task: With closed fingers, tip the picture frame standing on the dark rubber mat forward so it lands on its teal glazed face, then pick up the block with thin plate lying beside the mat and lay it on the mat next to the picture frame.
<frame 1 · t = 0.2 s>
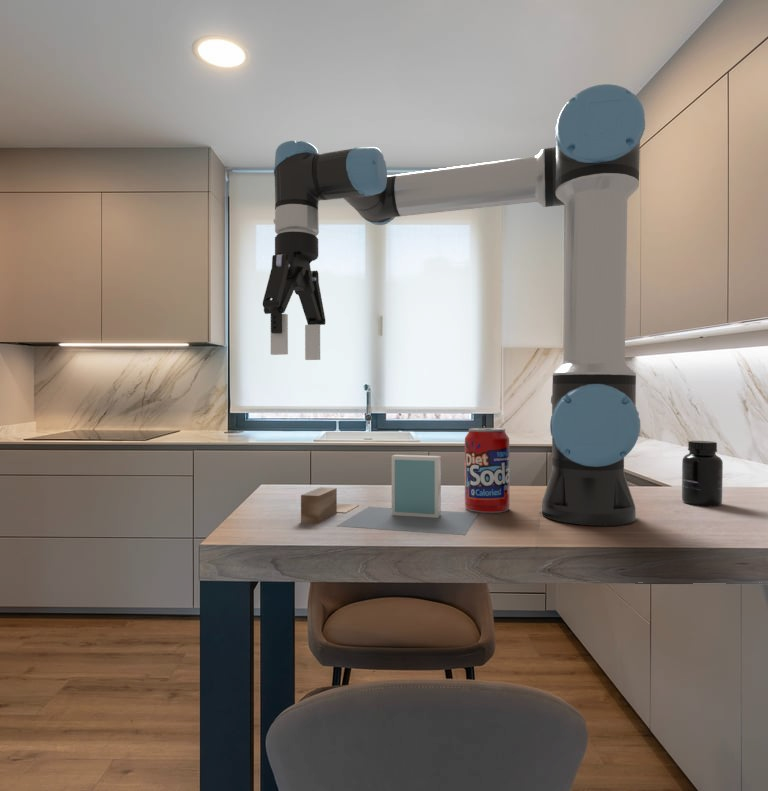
hand: (297, 357, 98), 28 cm above the breakfast bar, tool pointing down, fingers open, 13 cm apart
supplement bottle: (702, 504, 109), on the breakfast bar
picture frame: (416, 514, 95), point 1 cm above the breakfast bar, touching mat
mat: (411, 522, 92), on the breakfast bar
soda can: (487, 513, 100), on the breakfast bar
block with thin plate: (324, 519, 95), on the breakfast bar
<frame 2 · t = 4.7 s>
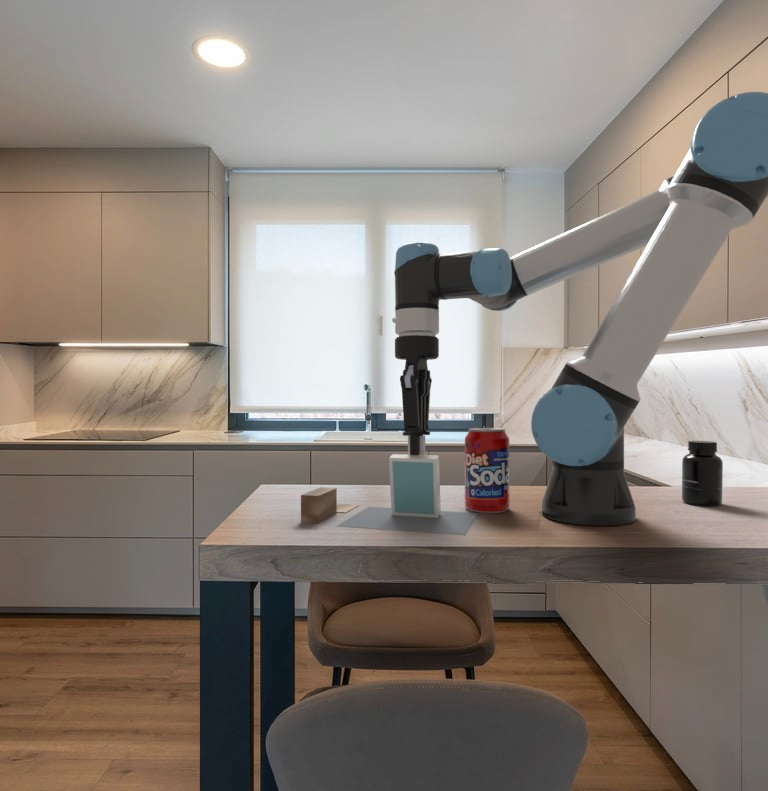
hand: (416, 473, 96), 8 cm above the breakfast bar, tool pointing down, fingers closed
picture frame: (416, 513, 95), point 1 cm above the breakfast bar, tilted 9°, touching gripper, mat
everything else where it was.
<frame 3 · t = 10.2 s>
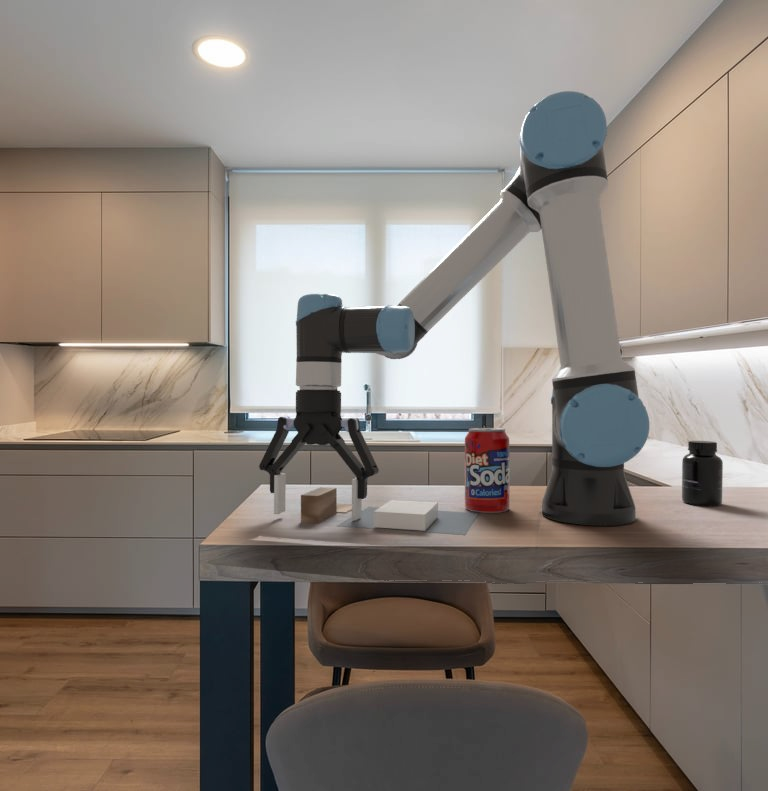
hand: (317, 516, 94), 1 cm above the breakfast bar, tool pointing down, fingers open, 13 cm apart
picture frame: (414, 508, 94), point 2 cm above the breakfast bar, tilted 90°, touching mat
everything else where it was.
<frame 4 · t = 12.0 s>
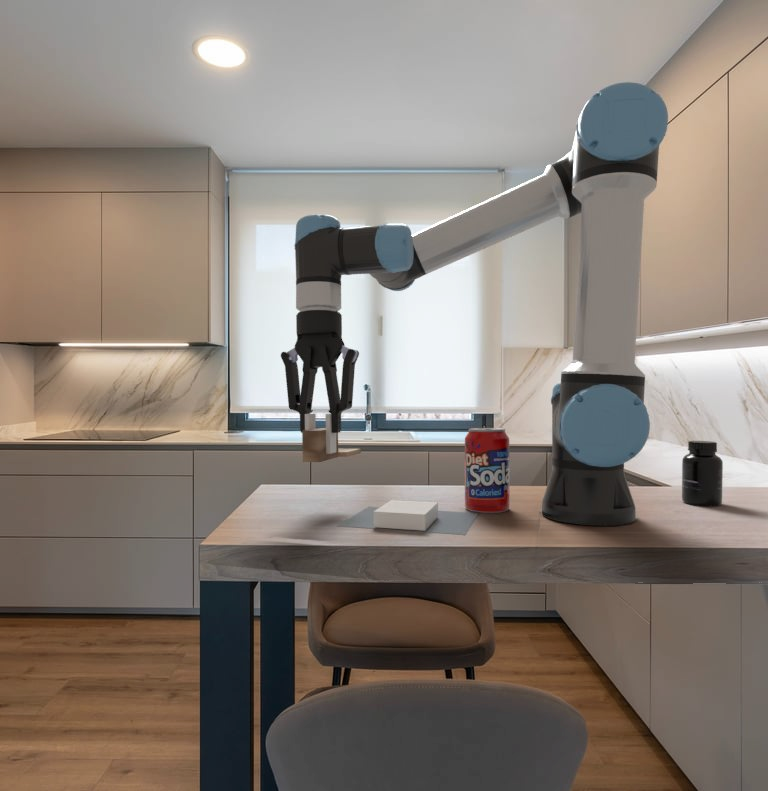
hand: (320, 452, 93), 11 cm above the breakfast bar, tool pointing down, fingers closed on block with thin plate, 3 cm apart
block with thin plate: (325, 458, 95), point 10 cm above the breakfast bar, touching gripper
everything else where it was.
when the fingers open (1 cm above the breakfast bar, at t = 14.7 s): block with thin plate stays where it is, resting on mat.
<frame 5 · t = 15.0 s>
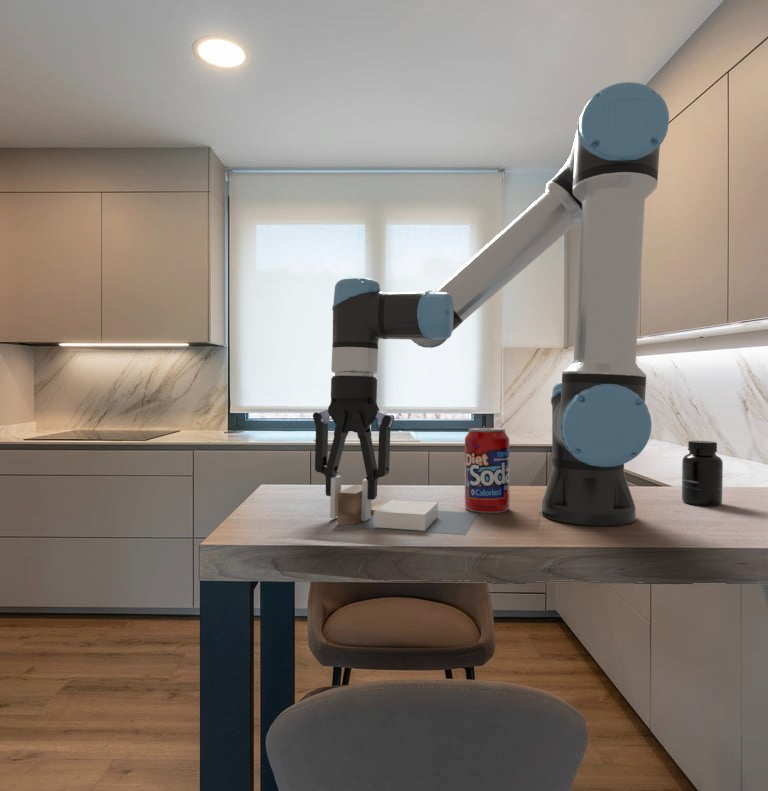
hand: (350, 517, 92), 1 cm above the breakfast bar, tool pointing down, fingers open, 5 cm apart
block with thin plate: (359, 517, 94), point 1 cm above the breakfast bar, touching gripper, mat
everything else where it was.
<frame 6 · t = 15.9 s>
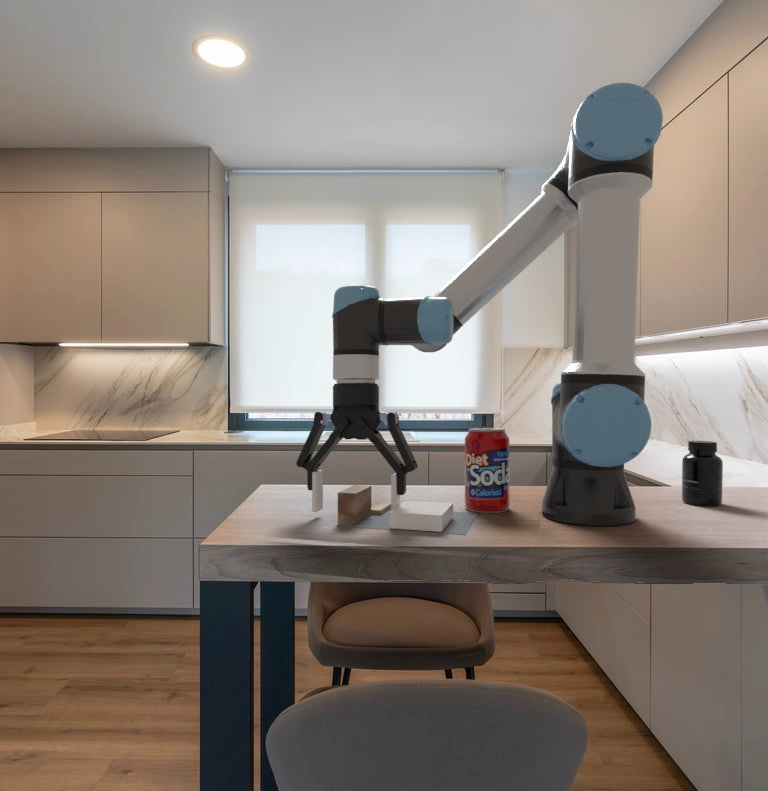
hand: (355, 512, 92), 2 cm above the breakfast bar, tool pointing down, fingers open, 13 cm apart
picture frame: (429, 509, 93), point 2 cm above the breakfast bar, tilted 90°, touching gripper, mat
block with thin plate: (359, 517, 94), point 1 cm above the breakfast bar, touching mat
everything else where it was.
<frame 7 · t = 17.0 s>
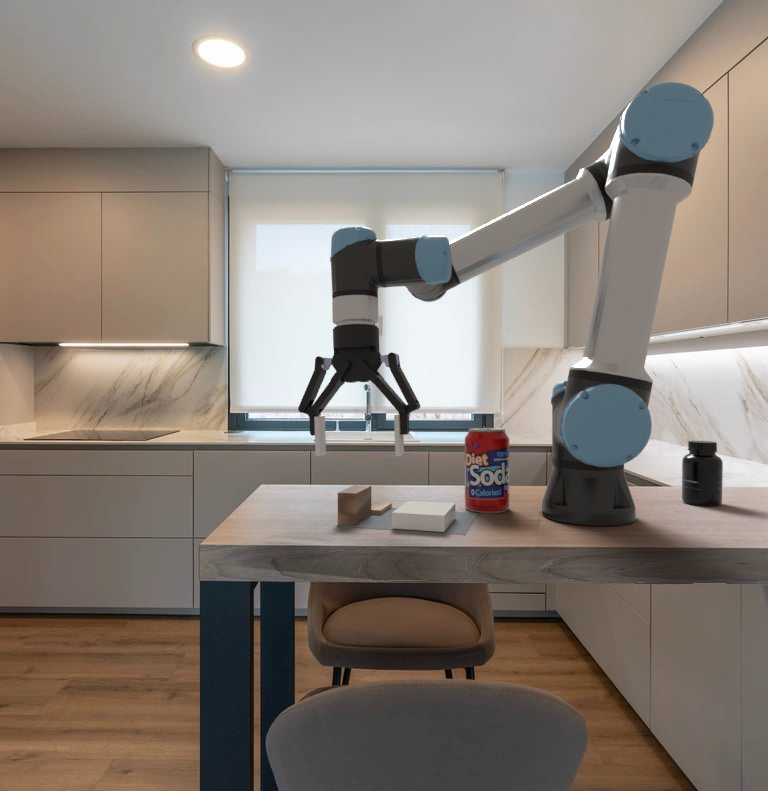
hand: (359, 455, 92), 11 cm above the breakfast bar, tool pointing down, fingers open, 13 cm apart
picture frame: (431, 509, 93), point 2 cm above the breakfast bar, tilted 90°, touching mat
everything else where it was.
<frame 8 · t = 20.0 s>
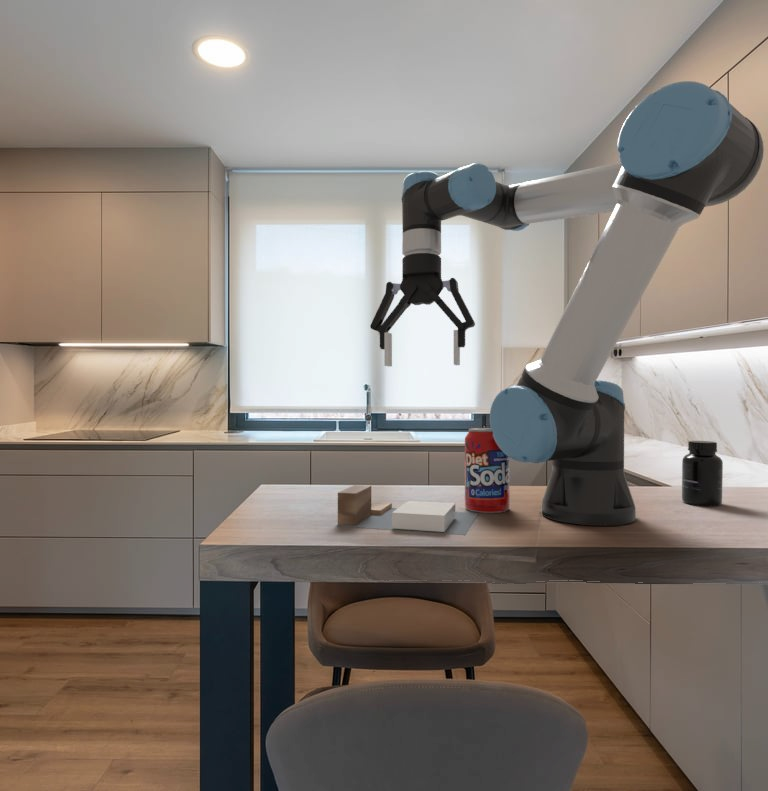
hand: (421, 365, 109), 27 cm above the breakfast bar, tool pointing down, fingers open, 13 cm apart
nothing on the breakfast bar moved.
at the end: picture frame tilted 90°; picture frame inside the target area (4.0 cm from its centre), point 1.9 cm above the breakfast bar; block with thin plate inside the target area (0.9 cm from its centre), point 0.6 cm above the breakfast bar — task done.
